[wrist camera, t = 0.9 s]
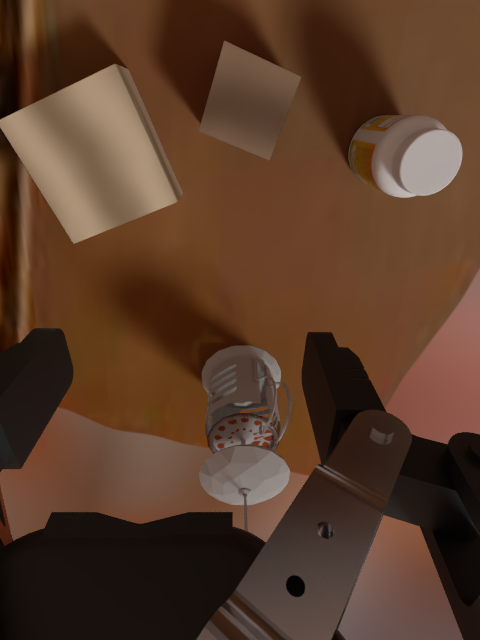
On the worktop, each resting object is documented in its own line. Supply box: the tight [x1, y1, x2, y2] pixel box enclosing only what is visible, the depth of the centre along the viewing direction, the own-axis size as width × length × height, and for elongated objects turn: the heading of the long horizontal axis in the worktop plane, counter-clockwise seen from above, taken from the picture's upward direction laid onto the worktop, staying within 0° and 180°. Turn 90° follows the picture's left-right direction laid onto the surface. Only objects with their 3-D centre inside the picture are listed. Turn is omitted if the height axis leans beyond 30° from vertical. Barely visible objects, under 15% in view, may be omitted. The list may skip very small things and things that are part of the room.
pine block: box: [0, 64, 183, 243], centre depth 30 cm, size 10×10×4 cm
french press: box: [199, 345, 291, 532], centre depth 33 cm, size 10×12×25 cm
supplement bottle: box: [348, 115, 462, 198], centre depth 27 cm, size 5×5×10 cm
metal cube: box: [199, 41, 301, 160], centre depth 27 cm, size 6×6×6 cm
